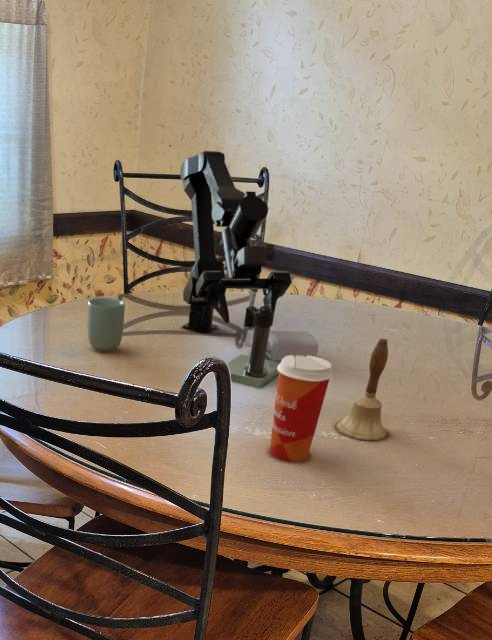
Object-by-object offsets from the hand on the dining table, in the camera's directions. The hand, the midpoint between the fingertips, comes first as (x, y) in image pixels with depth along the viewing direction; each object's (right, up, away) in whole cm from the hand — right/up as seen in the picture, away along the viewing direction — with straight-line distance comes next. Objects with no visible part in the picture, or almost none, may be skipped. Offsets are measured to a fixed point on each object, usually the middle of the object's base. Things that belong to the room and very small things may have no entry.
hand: (249, 322), depth 143 cm
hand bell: (+16, -25, -19) cm, 35 cm away
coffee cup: (+1, -30, -29) cm, 42 cm away
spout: (+1, -3, -2) cm, 4 cm away
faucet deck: (+1, -10, +3) cm, 10 cm away
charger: (+8, -3, +14) cm, 17 cm away
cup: (-29, -2, +13) cm, 32 cm away
